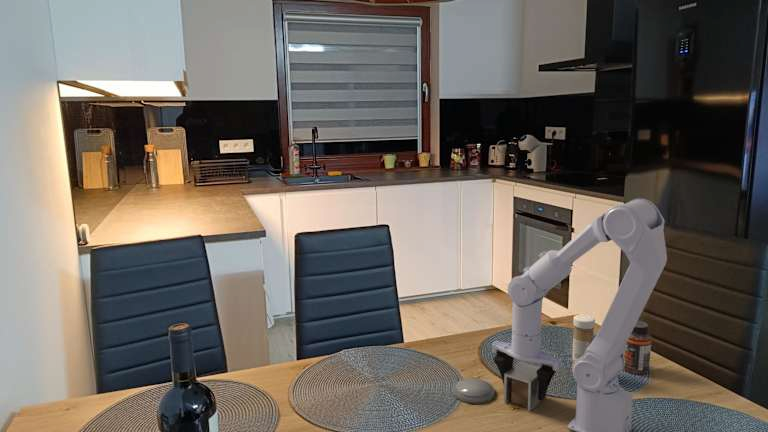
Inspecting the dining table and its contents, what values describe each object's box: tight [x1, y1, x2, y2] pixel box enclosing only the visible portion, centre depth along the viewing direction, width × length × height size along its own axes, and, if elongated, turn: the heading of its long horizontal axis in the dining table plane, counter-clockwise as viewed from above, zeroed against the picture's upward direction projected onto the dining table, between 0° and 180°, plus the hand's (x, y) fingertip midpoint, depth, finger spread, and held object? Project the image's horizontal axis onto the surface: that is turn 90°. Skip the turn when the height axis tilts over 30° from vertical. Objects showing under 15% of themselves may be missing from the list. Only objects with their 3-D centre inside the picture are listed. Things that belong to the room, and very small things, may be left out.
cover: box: [503, 361, 542, 412], centre depth 112 cm, size 6×7×6 cm
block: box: [510, 379, 528, 408], centre depth 112 cm, size 4×4×5 cm
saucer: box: [451, 378, 495, 405], centre depth 116 cm, size 9×9×1 cm
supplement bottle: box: [623, 320, 652, 375], centre depth 124 cm, size 6×6×11 cm
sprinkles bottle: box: [571, 314, 596, 367], centre depth 122 cm, size 5×5×13 cm
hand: (524, 392), depth 112 cm, fingers open, 7 cm apart
